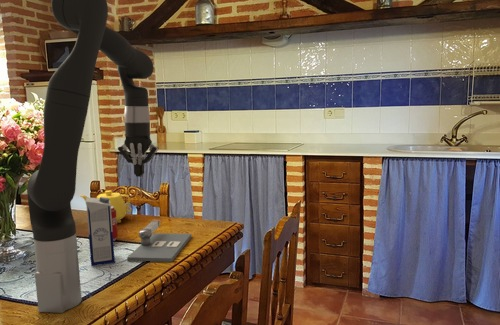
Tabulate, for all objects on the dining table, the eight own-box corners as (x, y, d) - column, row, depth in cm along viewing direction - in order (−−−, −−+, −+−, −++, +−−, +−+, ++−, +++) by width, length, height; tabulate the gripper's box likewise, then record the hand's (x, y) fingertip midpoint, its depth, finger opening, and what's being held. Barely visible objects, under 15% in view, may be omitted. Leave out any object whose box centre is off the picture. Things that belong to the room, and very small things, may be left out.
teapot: (132, 223, 170) (130, 192, 169) (79, 228, 165) (77, 196, 163) (131, 214, 183) (130, 186, 182) (83, 219, 178) (80, 189, 176)
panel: (171, 262, 127) (171, 250, 127) (127, 261, 129) (126, 249, 128) (191, 236, 151) (191, 226, 150) (154, 236, 152) (153, 226, 152)
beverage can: (112, 243, 146) (109, 210, 144) (95, 242, 147) (93, 209, 145) (121, 237, 152) (119, 205, 150) (105, 237, 153) (103, 205, 151)
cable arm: (162, 225, 152) (162, 219, 152) (149, 238, 138) (149, 232, 137) (151, 225, 153) (151, 219, 152) (137, 238, 138) (137, 232, 138)
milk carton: (91, 258, 132) (86, 196, 129) (113, 255, 134) (109, 194, 131) (91, 266, 125) (86, 201, 122) (114, 262, 128) (110, 198, 125)
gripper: (161, 120, 133) (163, 174, 135) (121, 120, 134) (124, 174, 136) (153, 121, 125) (155, 178, 127) (111, 121, 127) (114, 177, 129)
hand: (139, 176), depth 132 cm, fingers closed
